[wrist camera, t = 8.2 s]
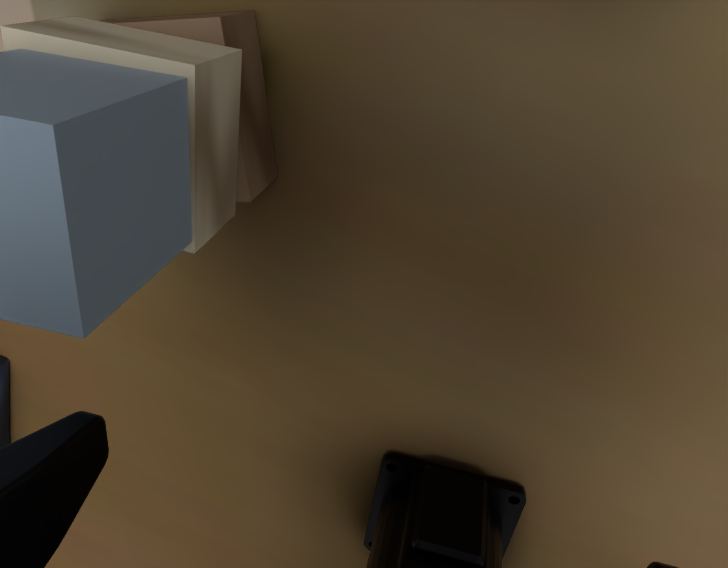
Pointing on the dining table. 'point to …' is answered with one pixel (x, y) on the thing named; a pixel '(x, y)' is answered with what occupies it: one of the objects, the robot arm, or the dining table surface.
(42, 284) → the blue cube
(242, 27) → the tower base
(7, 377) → the small box
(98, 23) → the tower mid
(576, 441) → the dining table surface
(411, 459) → the robot arm
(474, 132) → the dining table surface
